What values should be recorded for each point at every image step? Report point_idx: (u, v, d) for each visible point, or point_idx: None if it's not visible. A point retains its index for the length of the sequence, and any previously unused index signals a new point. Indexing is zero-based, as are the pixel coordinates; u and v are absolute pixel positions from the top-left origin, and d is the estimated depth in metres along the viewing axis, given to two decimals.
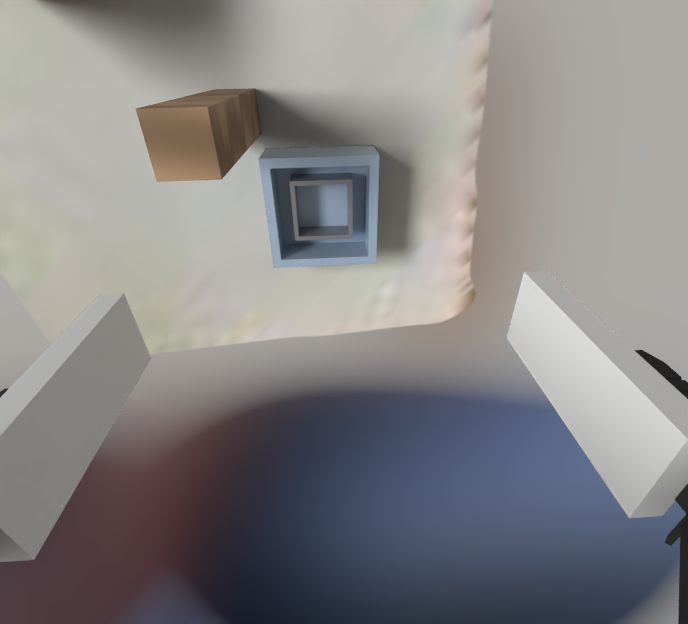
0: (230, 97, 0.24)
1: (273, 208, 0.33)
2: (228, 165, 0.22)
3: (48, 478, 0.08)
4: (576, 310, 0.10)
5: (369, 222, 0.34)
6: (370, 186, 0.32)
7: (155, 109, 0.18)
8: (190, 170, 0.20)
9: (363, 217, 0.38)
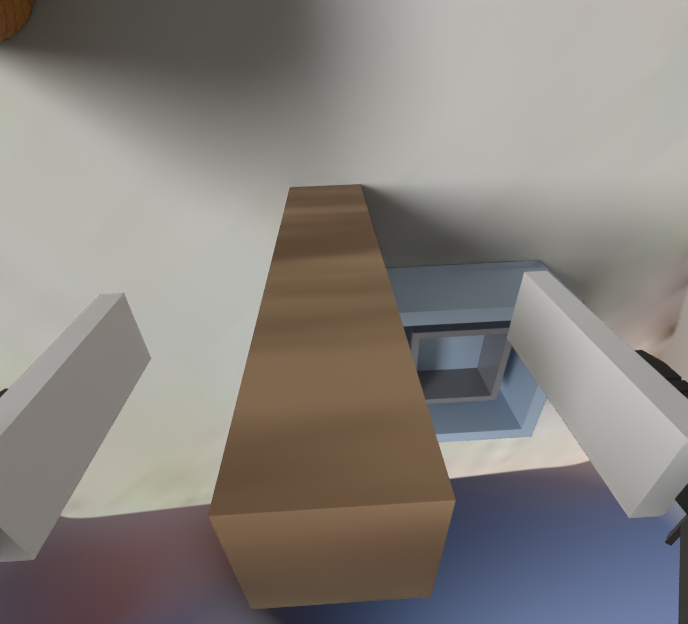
0: (386, 283, 0.10)
1: None
2: None
3: (48, 478, 0.08)
4: (576, 310, 0.10)
5: (536, 389, 0.21)
6: None
7: (276, 514, 0.05)
8: (350, 591, 0.07)
9: None
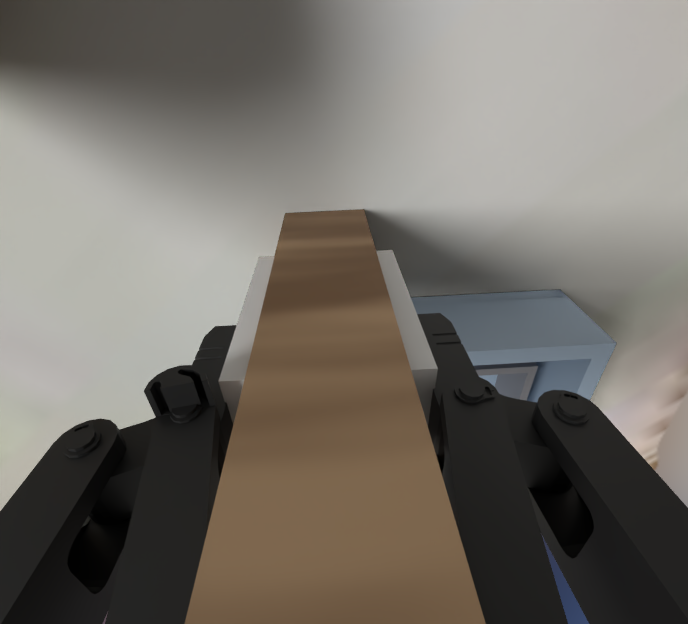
0: (400, 350, 0.08)
1: None
2: None
3: None
4: (392, 280, 0.12)
5: None
6: (580, 387, 0.17)
7: None
8: None
9: None
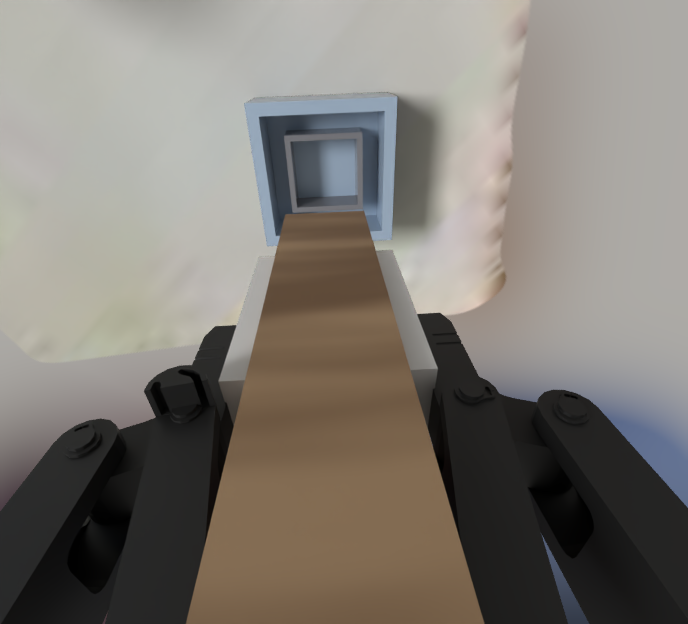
0: (400, 352, 0.08)
1: (264, 169, 0.27)
2: None
3: None
4: (392, 280, 0.12)
5: (383, 187, 0.28)
6: (385, 139, 0.26)
7: None
8: None
9: (375, 184, 0.31)
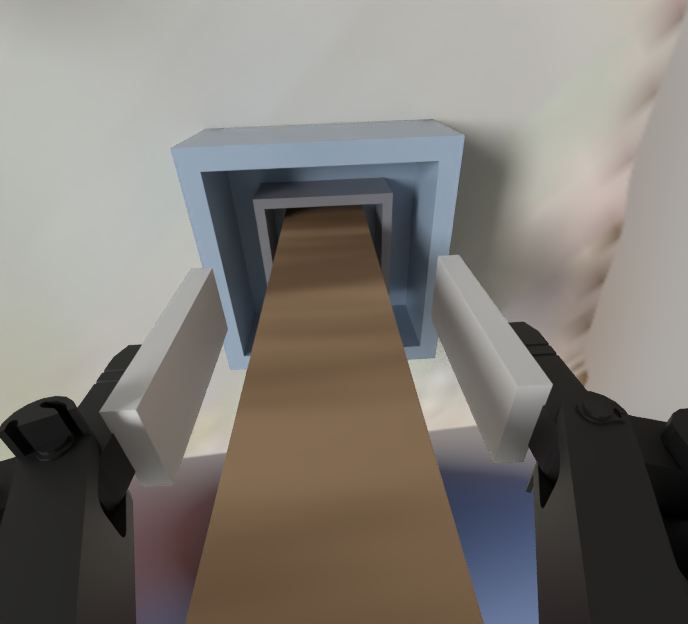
0: (392, 322, 0.09)
1: (218, 260, 0.15)
2: None
3: (178, 418, 0.10)
4: (470, 287, 0.11)
5: (427, 283, 0.16)
6: (436, 209, 0.14)
7: None
8: None
9: (406, 263, 0.19)
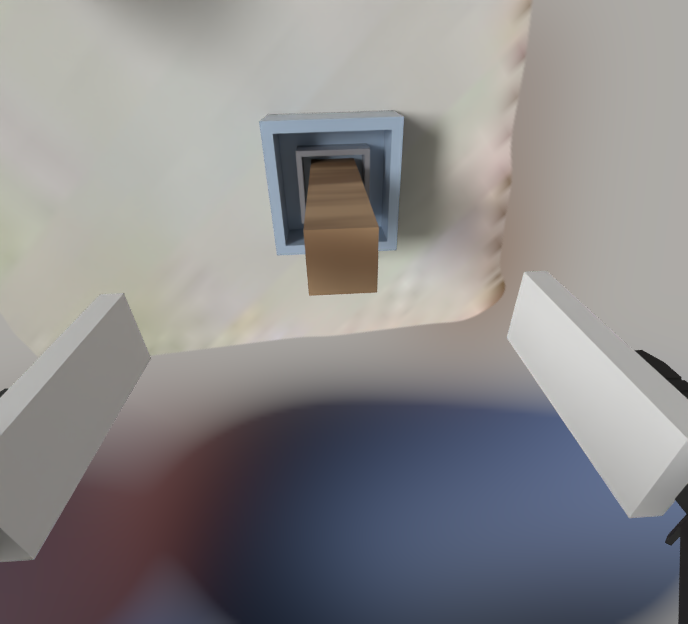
0: (364, 190, 0.22)
1: (276, 183, 0.28)
2: None
3: (48, 478, 0.08)
4: (576, 310, 0.10)
5: (389, 200, 0.29)
6: (392, 156, 0.27)
7: (323, 230, 0.17)
8: (346, 284, 0.19)
9: (380, 197, 0.33)
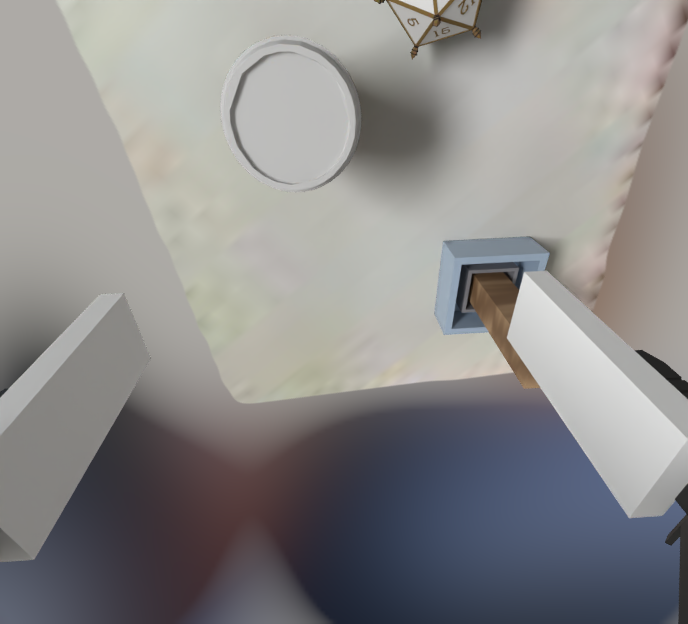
0: None
1: (456, 292, 0.41)
2: None
3: (48, 478, 0.08)
4: (576, 310, 0.10)
5: None
6: None
7: None
8: None
9: None
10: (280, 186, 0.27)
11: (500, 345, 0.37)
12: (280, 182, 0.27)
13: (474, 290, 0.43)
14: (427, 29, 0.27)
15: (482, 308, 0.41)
